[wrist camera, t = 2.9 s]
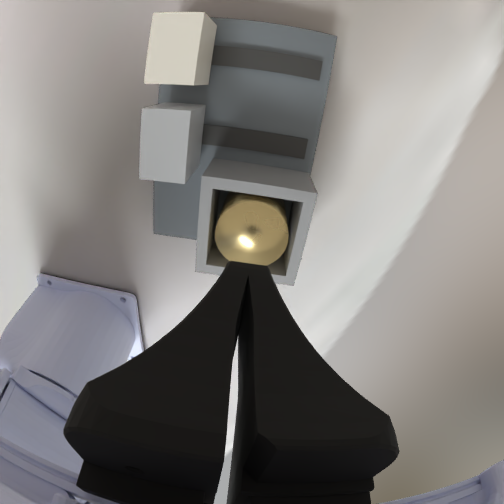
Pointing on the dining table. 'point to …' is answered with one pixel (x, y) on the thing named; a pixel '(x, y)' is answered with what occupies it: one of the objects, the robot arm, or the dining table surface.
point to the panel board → (252, 135)
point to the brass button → (252, 228)
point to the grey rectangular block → (170, 141)
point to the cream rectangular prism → (180, 48)
